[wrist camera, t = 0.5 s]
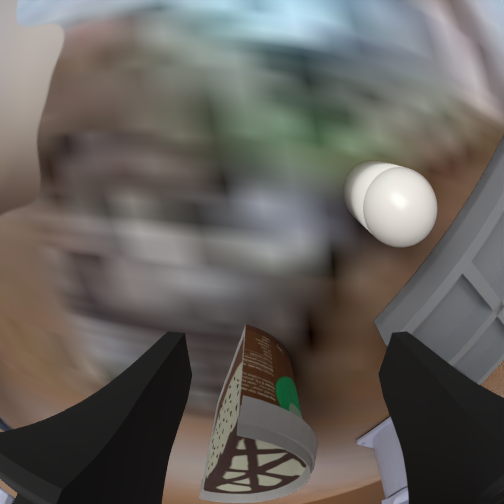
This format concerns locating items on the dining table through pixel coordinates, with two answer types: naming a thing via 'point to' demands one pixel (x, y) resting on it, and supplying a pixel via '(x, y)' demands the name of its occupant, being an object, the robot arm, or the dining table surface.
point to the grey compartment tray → (460, 285)
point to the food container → (258, 428)
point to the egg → (391, 202)
